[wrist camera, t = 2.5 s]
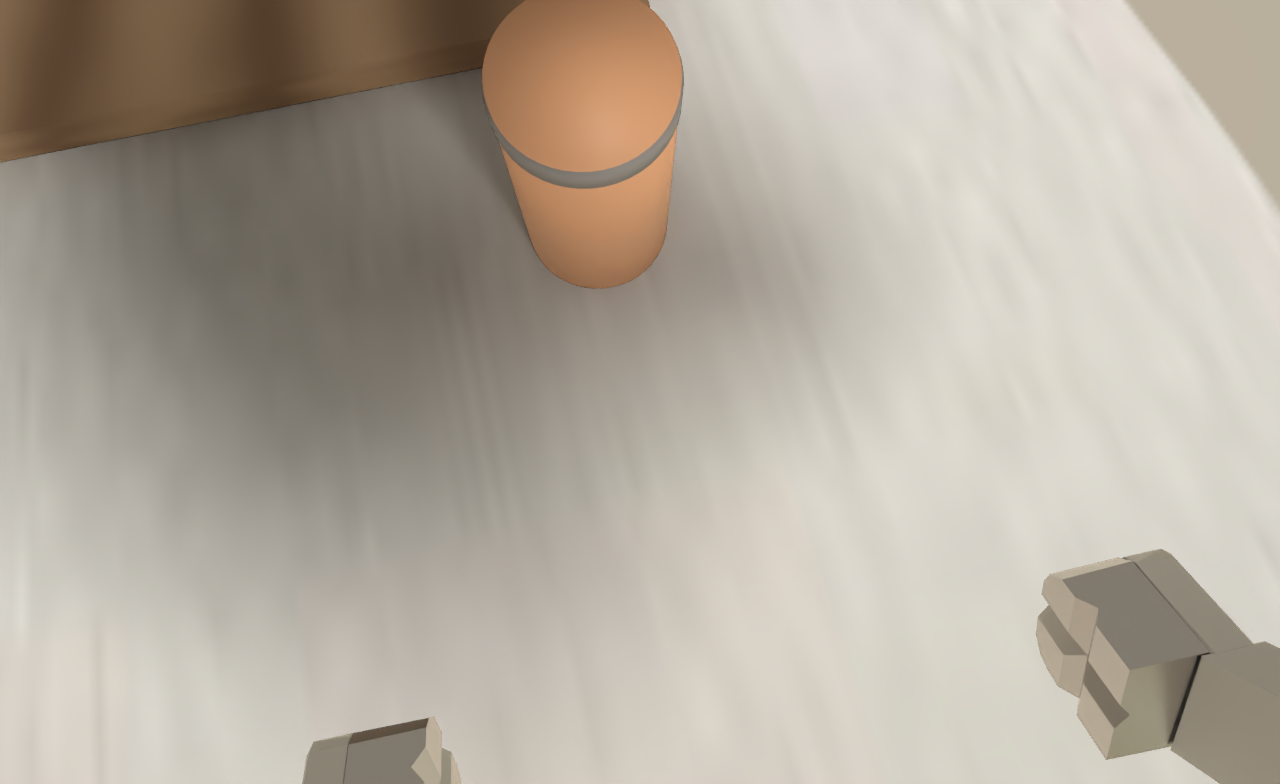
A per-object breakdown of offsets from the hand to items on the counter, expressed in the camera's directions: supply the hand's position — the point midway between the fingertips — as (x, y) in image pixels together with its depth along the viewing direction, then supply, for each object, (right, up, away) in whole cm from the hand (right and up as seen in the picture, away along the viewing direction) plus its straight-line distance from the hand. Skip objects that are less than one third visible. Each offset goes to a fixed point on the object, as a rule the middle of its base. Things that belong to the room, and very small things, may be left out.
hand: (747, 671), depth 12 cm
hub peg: (-3, +9, +17) cm, 19 cm away
